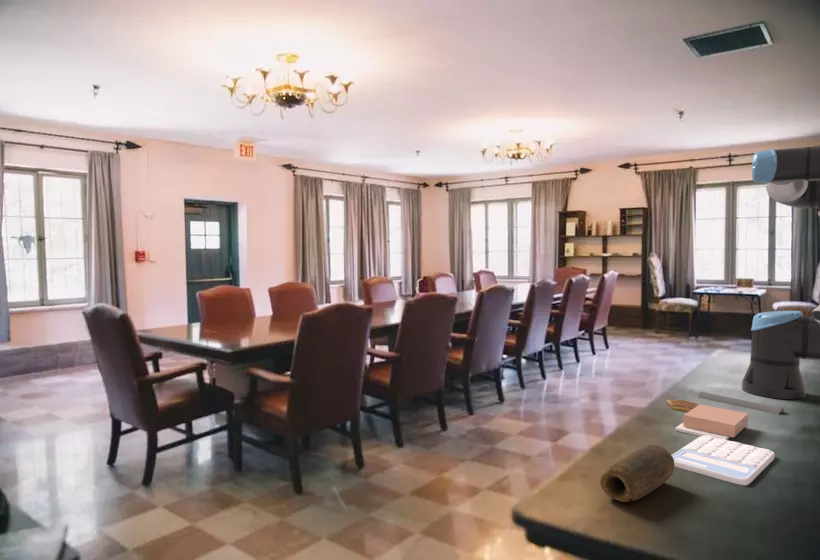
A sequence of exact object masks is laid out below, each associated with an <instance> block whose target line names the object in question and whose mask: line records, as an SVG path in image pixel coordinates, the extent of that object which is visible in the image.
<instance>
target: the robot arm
mask: <svg viewBox="0 0 820 560" xmlns="http://www.w3.org/2000/svg"><path fill="white" fill-rule="evenodd" d="M751 162H752V163H751V164H752V165H751V179H752V182H754V183H755V184H765V189H766V192H767V194H768V196H769V197H770V199H772V200H773V201H775V202H776V203H779V204H781V205H785V206H788V207H791V208H798V209H817V215H818V217H820V145H819V146H807V147H794V148H782V149H781V148H780V149H777V148H776V149H774V148H772V149H767V150H758V151H756V152H754V154H753V156H752V161H751ZM751 324H752V325H751V329H750V331H751V341H750V342H751V343H750V344H751V346H750V357H749V358H750V361H749V365H748V368H747V370H746V371H745V374H744V376H743V378H742V381H741V390H743V391H744V392H747V393H749V394H752V395H757V396H761V397H766V398H774V399H784V400H800V399H805V398H806V397H807V396H806V395H807V393H806V392H807V389H806V385H805V382H804V379H803V375H802V373H801V369H800V363H801V362H800V361H801V360H810V361H818V362H819V361H820V304H819V305H818V306H817V307H816V308H814V309H812V311H811V316H804V314H803V312H802V311H800V310H774V311H764V312H758V313H756V314H755V315H754V316H753V319H752V323H751Z"/></svg>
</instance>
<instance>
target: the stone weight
mask: <svg viewBox="0 0 820 560" xmlns="http://www.w3.org/2000/svg"><path fill="white" fill-rule="evenodd" d="M671 455H672V454H671V453H670V452H669V451H668V450H667V449H666V448H665V447H663V446H661V445H657V444H648V445H644V446H643V447H641V448H638V449H637V450H635V451H633V452H631V453H629V454H627V455H626V456H623V458H621V459H619V460H617V461H616V462H615V463H613V464H612V465H610V466H608V467H607V468H606V469H604V471H603V472H602V473H601V475H600V479H599V480H600V482H599V483H600V487H601V489H602V490H603V492H604V493H605V495H606V496H608V497H610V498H611V499H614V500H616V501H618V502H621V503H628V502H629V503H631V502H635V501H637V500H640V499H641V498H644V497H645V496H647V495H648V494H650V493H652V492H653V491H655V490H656V489H658V488H659V487H660V486H662V485H663V484H664V483H666V482H667V481H668V480H669V479H670V478H671V477H672V476H673V474H674V471H675V467H674V459H673V457H672V456H671Z"/></svg>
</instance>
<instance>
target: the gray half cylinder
mask: <svg viewBox="0 0 820 560" xmlns="http://www.w3.org/2000/svg"><path fill="white" fill-rule="evenodd" d="M697 396H698V398H700V399H703V400H708V401H713V402H718V403H723V404H726V405H727V404H728V405H732V406H736V407H741V408H746V409H751V410H755V411H758V412H759V411H760V412H765V413H768V414H774V415H780V414H783V413H784V411H785V409H784V408H783V407H778V406H773V405H769V404H763V403H758V402H754V401H750V400H749V401H748V400H743V399H739V398H734V397H730V396H724V395H720V394H715V393H711V392H705V391H700V392H698V395H697Z"/></svg>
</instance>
